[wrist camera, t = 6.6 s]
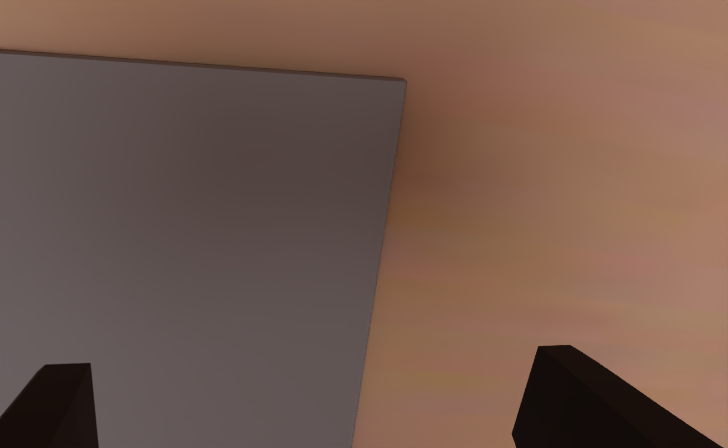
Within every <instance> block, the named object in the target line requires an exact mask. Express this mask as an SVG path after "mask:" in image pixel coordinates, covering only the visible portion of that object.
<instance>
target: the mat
mask: <svg viewBox="0 0 728 448" xmlns="http://www.w3.org/2000/svg"><path fill="white" fill-rule="evenodd" d="M406 84H407V82H406V81H405V80H404V79H403V78H389V77H375V76H361V75H347V74H333V73H319V72H305V71H291V70H277V69H263V68H249V67H235V66H221V65H207V64H193V63H179V62H165V61H151V60H137V59H123V58H109V57H95V56H81V55H67V54H53V53H39V52H25V51H11V50H0V416H1V415H2V414H3V413H4V412H5V410H6V409H7V408H8V407H9V406H10V404H11V403H12V402H13V401H14V399H15V398H16V397H17V396H18V395H19V393H20V392H21V391H22V390H23V388H24V387H25V386H26V385H27V384H28V382H29V381H30V380H31V379H32V377H33V376H34V375H35V374H36V372H37V371H38V370H39V369H41V368H42V367H43V366H44V365H45V364H70V363H91V370H92V381H93V391H94V402H95V412H96V423H97V433H98V444H99V448H352V442H353V435H354V428H355V422H356V415H357V409H358V402H359V395H360V389H361V382H362V375H363V369H364V362H365V356H366V349H367V342H368V336H369V329H370V323H371V316H372V309H373V303H374V296H375V289H376V283H377V276H378V270H379V263H380V256H381V250H382V243H383V236H384V230H385V223H386V217H387V210H388V203H389V197H390V190H391V184H392V177H393V170H394V164H395V157H396V150H397V144H398V137H399V131H400V124H401V117H402V111H403V104H404V97H405V91H406Z"/></svg>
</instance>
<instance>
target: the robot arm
mask: <svg viewBox="0 0 728 448" xmlns="http://www.w3.org/2000/svg"><path fill="white" fill-rule="evenodd" d="M512 436H513V439H514V442H515V445H516V448H723V447H721V446H720V445H718V444H717V443H715V442H714V441H712V440H711V439H709V438H708V437H706V436H705V435H703V434H701V433H700V432H698V431H697V430H695V429H694V428H692V427H691V426H689V425H688V424H686V423H685V422H684V421H682V420H681V419H679V418H678V417H676V416H675V415H673V414H672V413H670V412H669V411H667V410H666V409H664V408H663V407H662V406H660V405H659V404H657V403H656V402H654V401H653V400H651V399H650V398H649V397H647V396H646V395H644V394H643V393H641V392H640V391H639V390H637V389H636V388H634V387H633V386H631V385H630V384H628V383H627V382H626V381H624V380H623V379H621V378H620V377H618V376H617V375H615V374H614V373H613V372H611V371H610V370H608V369H607V368H605V367H604V366H602V365H601V364H599V363H598V362H596V361H595V360H593V359H592V358H590V357H589V356H587V355H586V354H584V353H583V352H581V351H579V350H578V349H576V348H574V347H573V346H571V345H555V346H538V349H537V352H536V355H535V359H534V362H533V365H532V369H531V372H530V375H529V379H528V382H527V385H526V388H525V392H524V395H523V398H522V402H521V405H520V408H519V412H518V415H517V418H516V421H515V425H514V428H513V431H512ZM0 448H99V444H98V433H97V423H96V412H95V402H94V391H93V381H92V370H91V363H70V364H45V365H44V366H43V367H42V368H41V369H39V370H38V371H37V372H36V374H35V375H34V376H33V377H32V379H31V380H30V381H29V382H28V384H27V385H26V386H25V387H24V388H23V390H22V391H21V392H20V393H19V395H18V396H17V397H16V398H15V399H14V401H13V402H12V403H11V404H10V406H9V407H8V408H7V409H6V410H5V412H4V413H3V414H2V415H1V416H0Z"/></svg>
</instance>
